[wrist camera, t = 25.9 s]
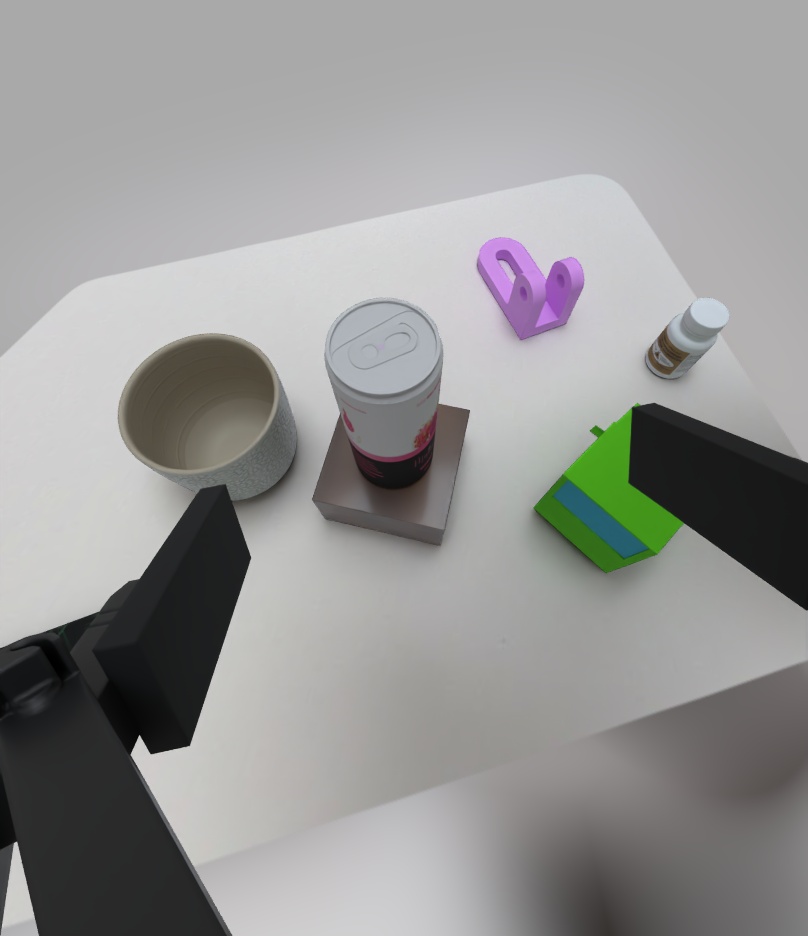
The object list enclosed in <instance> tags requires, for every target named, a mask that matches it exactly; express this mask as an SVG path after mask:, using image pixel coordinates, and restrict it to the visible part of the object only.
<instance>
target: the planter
mask: <svg viewBox="0 0 808 936" xmlns="http://www.w3.org/2000/svg"><path fill="white" fill-rule="evenodd" d="M118 424H119V429H120V433H121V436H122V439H123V441H124V443H125V445H126V446H127V448H128V449H129V450H130V452H131V453H132V454H133V455H134V456H135V457H136V458H137V459H138V460H140V461H141V462H142V463H144V464H145V465H146V466H148V467H149V468H151V469H152V470H154V471H156V472H157V473H159V474H161V475H162V476H164V477H166V478H168V479H170V480H172V481H174V482H176V483H178V484H180V485H182V486H184V487H186V488H188V489H190V490H192V491H194V492H197V493H198V492H199V490H200V489H201V488H207V487H212V486H217V485H222V484H226V486H227V489H228V492H229V495H230V498H231V500H241V499H246V498H250V497H253V496H256V495H258V494H260V493H262V492H264V491H266V490H268V489H269V488H271V487H272V486H273V485H274V484H276V483H277V482H278V481H279V480H280V479H281V478H282V476H283V475H284V474H285V473H286V471H287V470H288V468H289V466H290V464H291V462H292V460H293V457H294V454H295V450H296V444H297V434H296V427H295V422H294V418H293V414H292V411H291V408H290V405H289V402H288V399H287V396H286V393H285V391H284V388H283V386H282V383H281V381H280V379H279V376H278V374H277V372H276V370H275V368H274V367H273V365H272V363H271V362H270V360H269V359H268V357H267V356H266V355H265V354H264V353H263V352H262V351H261V350H260V349H259V348H257V347H256V346H254V345H253V344H251V343H249V342H248V341H246V340H243V339H241V338H238V337H235V336H231V335H225V334H212V333H211V334H199V335H193V336H189V337H185V338H182V339H179V340H176V341H174V342H172V343H170V344H168V345H166V346H164V347H162V348H160V349H159V350H157V351H156V352H154V353H153V354H152V355H150V356H149V357H148V358H147V359H146V360H145V361H144V362H143V363H141V365H140V366H139V367H138V368H137V369H136V370H135V371H134V373H133V374H132V376H131V377H130V379H129V380H128V382H127V384H126V386H125V388H124V390H123V392H122V395H121V398H120V402H119V408H118Z"/></svg>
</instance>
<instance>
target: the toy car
mask: <svg viewBox="0 0 808 936" xmlns="http://www.w3.org/2000/svg"><path fill="white" fill-rule="evenodd" d="M636 406H641V405H639V404H638V403H637V404H636V405H635V406H634V407H636ZM631 417H632V408H631V409H630V410H629V411H628V412H627V413H626V414H625V415H624V416H623V417H622V418H621V419H620V420H618V421H617V422H616V423H615V422H613V424H612V425H611V426H610V427H609V428H608V429H607V430H606V431H605V432H604V431H603V430H602V429H600V428H599V427H598V426H595V427H594V428H592V429H591V430H590V432H592V433H593V434H594V435H596V436H597V437H598V439H597V440H596V441H595V442H594V443H593V444H592V445H591V446H590V447H589V448H588V449H587V450H586V451H585V452H584V453H583V454H582V455H581V456H580V457H579V458H578V459H577V460H576V462H575V463H574V464H573V465H572V466H571V467H570V468H569V469H568V470H567V471H566V472H565V473H564V474H563V475H562V476H561V477H560V478H559V479H558V481H557V482H556V483H555V484H554V485H553V486H552V487H551V488H550V490H549V491H548V492H547V493H546V494H545V495H544V496H543V498H542V499H541V500H540V501H539V502H538V503H537V504H536V505H535V507H534V509H535V510H536V511H537V512H538V513H540V514H541V515H542V516H543V517H544V518H545V519H546V520H547V521H548V522H550V523H551V524H552V525H553V526H554V527H555V528H556V529H557V530H559V531H560V532H561V533H562V534H563V535H564V536H565V537H566V538H567V539H569V540H570V541H571V542H572V543H573V544H574V545H575V546H576V547H577V548H579V549H580V550H581V551H582V552H583V553H584V554H585V555H586V556H587V557H589V558H590V559H591V560H592V561H593V562H594V563H595V564H596V565H598V566H599V567H600V568H601V569H602V570H603V571H604V572H605V573H608V572H611V571H613V570H616V569H619V568H621V567H624V566H627V565H630V564H632V563H635V562H638V561H641V560H643V559H646V558H649V557H651V556H654V555H657V554H658V553H659V552H660V551H661V549H662V548H663V547H664V546H665V545H666V543H667V542H668V541H669V540H670V539H671V538H672V536H673V535H674V534H675V533H676V532H677V530H678V529H679V528H680V527H681V526H682V525H683V522H682V521H680V520H679V519H678V518H676V517H675V516H673V515H672V514H671V513H669V512H668V511H666V510H665V509H664V508H662V507H661V506H659V505H658V504H657V503H655V502H654V501H652V500H651V499H650V498H648V497H647V496H646V495H644V494H643V493H641V492H640V491H639V490H637V489H636V488H634V487H633V486H632V485H630V484H629V483H628V477H629V457H630V437H631Z"/></svg>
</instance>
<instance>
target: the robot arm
mask: <svg viewBox="0 0 808 936" xmlns="http://www.w3.org/2000/svg"><path fill="white" fill-rule="evenodd" d="M628 483H629V484H630V485H632V486H633V487H634V488H636V489H637V490H639V491H640V492H641V493H643V494H644V495H646V496H647V497H648V498H650V499H651V500H652V501H654V502H655V503H657V504H658V505H659V506H661V507H662V508H664V509H665V510H666V511H668V512H669V513H671V514H672V515H673V516H675V517H676V518H678V519H679V520H680V521H682V522H683V523H685V524H686V525H687V526H689V527H690V528H692V529H693V530H694V531H696V532H697V533H699V534H700V535H701V536H703V537H704V538H706V539H707V540H708V541H710V542H711V543H713V544H714V545H715V546H717V547H718V548H720V549H721V550H722V551H724V552H725V553H727V554H728V555H729V556H731V557H732V558H734V559H735V560H736V561H738V562H739V563H741V564H742V565H743V566H745V567H746V568H748V569H749V570H750V571H752V572H753V573H755V574H756V575H757V576H759V577H760V578H762V579H763V580H764V581H766V582H767V583H769V584H770V585H771V586H773V587H774V588H776V589H777V590H778V591H780V592H781V593H783V594H784V595H785V596H787V597H788V598H790V599H791V600H792V601H794V602H795V603H797V604H798V605H799V606H801V607H802V608H804V609H805V610H806V611H807V610H808V463H807V462H804V461H802V460H799V459H796V458H792V457H789V456H787V455H784V454H782V453H779V452H777V451H774V450H772V449H769V448H767V447H764V446H762V445H759V444H757V443H754V442H752V441H749V440H746V439H744V438H741V437H739V436H736V435H734V434H731V433H729V432H726V431H724V430H721V429H719V428H716V427H714V426H711V425H709V424H706V423H704V422H701V421H699V420H696V419H694V418H691V417H689V416H686V415H684V414H681V413H679V412H676V411H674V410H671V409H669V408H666V407H663V406H661V405H658V404H656V403H651V404H646V405H641V406H636V407H632V417H631V437H630V457H629V477H628ZM250 560H251V556H250V553H249V550H248V547H247V544H246V541H245V538H244V536H243V533H242V530H241V527H240V524H239V521H238V518H237V515H236V512H235V509H234V506H233V504H232V501H231V498H230V495H229V492H228V489H227V486H226V484H222V485H217V486H212V487H207V488H201V489H200V490H199V492H198V493H197V495H196V496H195V498H194V499H193V501H192V502H191V504H190V505H189V507H188V508H187V510H186V511H185V513H184V514H183V516H182V517H181V519H180V520H179V522H178V523H177V525H176V526H175V528H174V529H173V530H172V532H171V533H170V535H169V536H168V538H167V539H166V541H165V542H164V544H163V545H162V547H161V548H160V550H159V551H158V553H157V554H156V556H155V557H154V559H153V560H152V562H151V563H150V565H149V566H148V568H147V569H146V570H145V572H144V573H143V575H142V576H141V578H140V579H138V580H133V581H129V582H128V583H126V584H125V585H124V586H123V587H121V588H120V589H119V590H118V591H117V592H115V593H114V594H113V595H112V596H111V597H110V598H109V599H108V601H107V602H106V603H105V605H104V606H103V608H102V609H101V610H100V612H99V615H97V616H96V617H95V619H94V620H93V621H92V623H91V624H90V628H88V629H87V630H86V631H85V632H84V634H83V635H82V636H81V638H80V639H79V640H78V642H77V643H76V645H75V646H74V647H73V649H72V650H71V651H70V652H69V651H68V649H67V647H66V646H65V644H64V642H63V640H62V639H61V637H60V636H58V635H57V634H55V633H40V634H36V635H32V636H28V637H25V638H23V639H21V640H18V641H16V642H14V643H12V644H9V645H8V646H6V647H4V648H3V649H1V650H0V935H1V928H2V921H3V914H4V907H5V900H6V893H7V887H8V880H9V873H10V866H11V859H12V852H13V845H14V843H15V842H18V847H19V851H20V855H21V860H22V864H23V868H24V873H25V877H26V881H27V886H28V890H29V894H30V899H31V903H32V907H33V912H34V916H35V920H36V924H37V929H38V933H39V936H232V934H231V933H230V931H229V929H228V927H227V925H226V923H225V922H224V920H223V918H222V916H221V915H220V913H219V912H218V909H217V907H216V906H215V904H214V902H213V900H212V899H211V897H210V895H209V893H208V891H207V890H206V888H205V886H204V884H203V883H202V881H201V879H200V877H199V875H198V874H197V872H196V870H195V868H194V867H193V865H192V863H191V861H190V859H189V858H188V856H187V854H186V852H185V851H184V849H183V847H182V845H181V843H180V842H179V840H178V838H177V836H176V835H175V833H174V831H173V829H172V827H171V826H170V824H169V822H168V820H167V818H166V817H165V815H164V813H163V811H162V810H161V808H160V806H159V804H158V802H157V801H156V799H155V797H154V795H153V794H152V792H151V790H150V788H149V786H148V785H147V783H146V781H145V779H144V778H143V776H142V774H141V772H140V770H139V769H138V767H137V765H136V763H135V762H134V760H133V758H132V757H131V752H132V750H133V748H134V746H135V743H136V741H137V739H138V737H139V735H140V736H141V738H142V740H143V742H144V743H145V745H146V747H147V749H148V750H149V752H150V754H155V753H160V752H164V751H169V750H173V749H178V748H182V747H187V746H190V744H191V741H192V738H193V734H194V731H195V728H196V725H197V722H198V719H199V716H200V713H201V710H202V707H203V704H204V701H205V698H206V695H207V692H208V689H209V686H210V682H211V679H212V676H213V673H214V670H215V667H216V664H217V661H218V658H219V655H220V652H221V649H222V646H223V643H224V640H225V637H226V633H227V630H228V627H229V624H230V621H231V618H232V615H233V612H234V609H235V606H236V603H237V600H238V597H239V594H240V591H241V588H242V584H243V581H244V578H245V575H246V572H247V569H248V566H249V563H250Z"/></svg>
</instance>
